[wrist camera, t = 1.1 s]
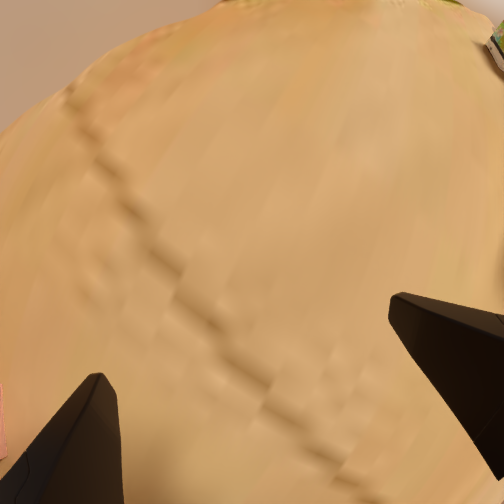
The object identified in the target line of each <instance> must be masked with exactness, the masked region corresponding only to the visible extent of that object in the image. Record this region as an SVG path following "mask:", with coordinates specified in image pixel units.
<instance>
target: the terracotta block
mask: <svg viewBox="0 0 504 504" xmlns="http://www.w3.org/2000/svg"><path fill="white" fill-rule="evenodd" d="M6 456H8V453H7V446H6V438H5V428H4V414H3V385H2V384H1V383H0V459H2V458H4V457H6Z"/></svg>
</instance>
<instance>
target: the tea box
mask: <svg viewBox="0 0 504 504" xmlns="http://www.w3.org/2000/svg"><path fill="white" fill-rule="evenodd" d="M486 45H487V47H488V49H489V50H490V52H491V54H492V56H493V58H494V60H495V62H496V64H497V66H498V67H499V68H500V69H501V70H502V71H503V72H504V20H503V22H502V23H501V24H500V26H499V27H498V28H497V29H496V31H495V32H494V33H493V34H492V36H491V37H490V38H489V40H488V41H487V42H486Z"/></svg>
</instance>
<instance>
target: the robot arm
mask: <svg viewBox="0 0 504 504" xmlns="http://www.w3.org/2000/svg"><path fill="white" fill-rule="evenodd" d="M388 319H389V322H390V324H391V326H392V327H393V329H394V330H395V332H396V334H397V335H398V337H399V338H400V340H401V341H402V343H403V345H404V346H405V348H406V349H407V351H408V352H409V354H410V355H411V357H412V358H413V360H414V361H415V362H416V364H417V365H418V366H419V367H420V369H421V370H422V371H423V373H424V374H425V375H426V377H427V378H428V379H429V381H430V382H431V383H432V385H433V386H434V387H435V389H436V390H437V391H438V393H439V394H440V395H441V397H442V398H443V399H444V401H445V402H446V404H447V405H448V406H449V408H450V409H451V411H452V412H453V413H454V415H455V416H456V418H457V419H458V420H459V422H460V423H461V425H462V426H463V428H464V429H465V431H466V432H467V434H468V435H469V437H470V438H471V439H472V441H473V443H474V444H475V446H476V447H477V449H478V450H479V452H480V453H481V455H482V457H483V458H484V460H485V461H486V463H487V464H488V466H489V468H490V469H491V471H492V473H493V474H494V476H495V477H496V479H497V480H498V481H499V480H501V479H502V478H503V477H504V315H501V314H494V313H492V312H487V311H483V310H479V309H474V308H470V307H466V306H461V305H457V304H453V303H448V302H444V301H440V300H435V299H431V298H427V297H422V296H418V295H414V294H410V293H405V292H400V293H397V294H395V295H393V296H392V297H391V299H390V306H389V314H388ZM0 504H124V497H123V483H122V462H121V436H120V427H119V417H118V405H117V395H116V393H115V390H114V389H113V387H112V386H111V384H110V383H109V381H108V379H107V378H106V376H105V375H104V374H103V373H92V374H90V375H88V377H87V378H86V379H85V380H84V381H83V382H82V383H81V385H80V386H79V387H78V388H77V389H76V390H75V391H74V393H73V394H72V395H71V396H70V397H69V398H68V400H67V401H66V402H65V403H64V404H63V405H62V407H61V408H60V409H59V410H58V411H57V412H56V414H55V415H54V416H53V417H52V418H51V420H50V421H49V422H48V423H47V424H46V426H45V427H44V428H43V429H42V430H41V432H40V433H39V434H38V435H37V437H36V438H35V439H34V440H33V442H32V443H31V444H30V445H29V446H28V448H27V449H26V451H24V453H23V454H22V455H21V457H20V458H19V459H18V460H17V461H16V463H15V464H14V465H13V466H12V468H11V469H10V470H9V471H8V472H7V473H6V474H5V476H4V477H3V478H2V479H1V480H0Z"/></svg>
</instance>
